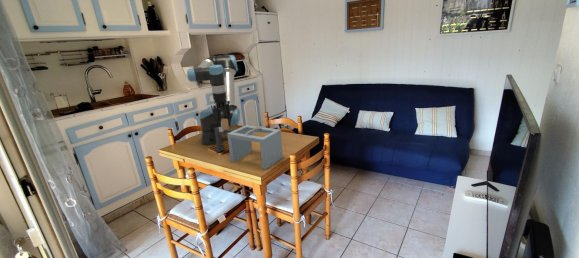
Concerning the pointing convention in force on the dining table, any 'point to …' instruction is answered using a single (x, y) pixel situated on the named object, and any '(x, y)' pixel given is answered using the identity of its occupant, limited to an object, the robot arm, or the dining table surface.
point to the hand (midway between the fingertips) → (224, 130)
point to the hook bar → (253, 131)
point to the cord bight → (217, 133)
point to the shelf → (268, 143)
